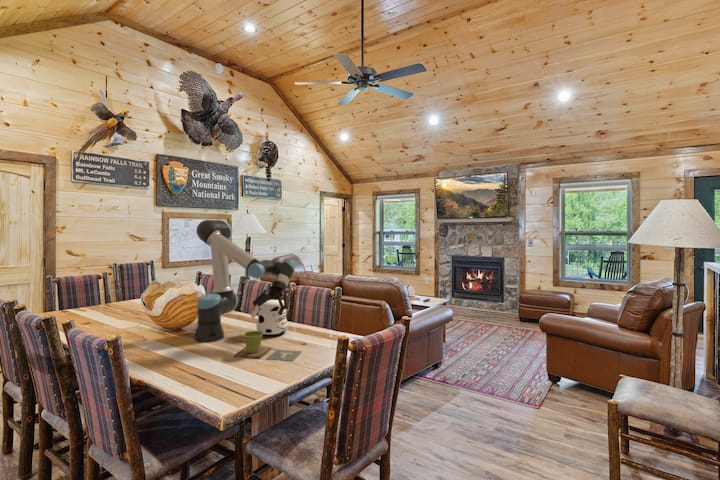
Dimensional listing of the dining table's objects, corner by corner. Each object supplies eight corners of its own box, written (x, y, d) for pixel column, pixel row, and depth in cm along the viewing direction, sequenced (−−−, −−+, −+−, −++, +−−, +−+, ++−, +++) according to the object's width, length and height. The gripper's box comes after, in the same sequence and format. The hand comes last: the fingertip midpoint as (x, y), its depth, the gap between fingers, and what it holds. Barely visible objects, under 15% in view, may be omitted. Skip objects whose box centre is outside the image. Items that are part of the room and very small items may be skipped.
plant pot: (258, 355, 178) (258, 336, 178) (239, 353, 180) (239, 335, 180) (266, 348, 187) (266, 331, 187) (248, 347, 189) (248, 330, 189)
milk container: (288, 336, 212) (288, 304, 211) (256, 338, 208) (256, 306, 207) (286, 328, 229) (286, 298, 228) (256, 330, 224) (256, 299, 224)
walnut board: (233, 357, 178) (233, 355, 178) (246, 348, 191) (246, 346, 191) (260, 358, 176) (260, 356, 176) (271, 349, 189) (271, 347, 189)
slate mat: (266, 359, 176) (266, 358, 176) (276, 350, 189) (276, 349, 189) (293, 360, 174) (293, 360, 174) (302, 351, 187) (302, 351, 187)
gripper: (303, 290, 203) (288, 325, 190) (263, 286, 211) (246, 320, 198) (298, 281, 198) (282, 316, 184) (257, 278, 206) (239, 312, 193)
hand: (263, 318), depth 191 cm, fingers open, 13 cm apart
